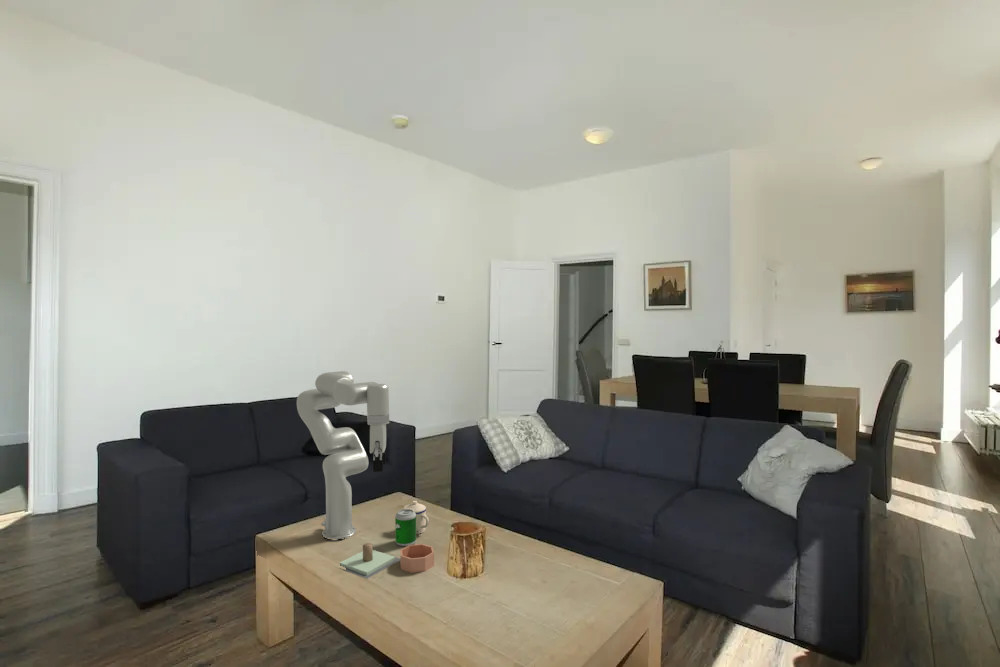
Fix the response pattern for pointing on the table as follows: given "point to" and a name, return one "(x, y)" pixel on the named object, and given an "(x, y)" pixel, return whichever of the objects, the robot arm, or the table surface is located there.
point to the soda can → (405, 527)
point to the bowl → (417, 558)
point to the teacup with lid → (419, 516)
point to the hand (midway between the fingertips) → (379, 467)
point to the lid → (367, 560)
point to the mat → (374, 571)
